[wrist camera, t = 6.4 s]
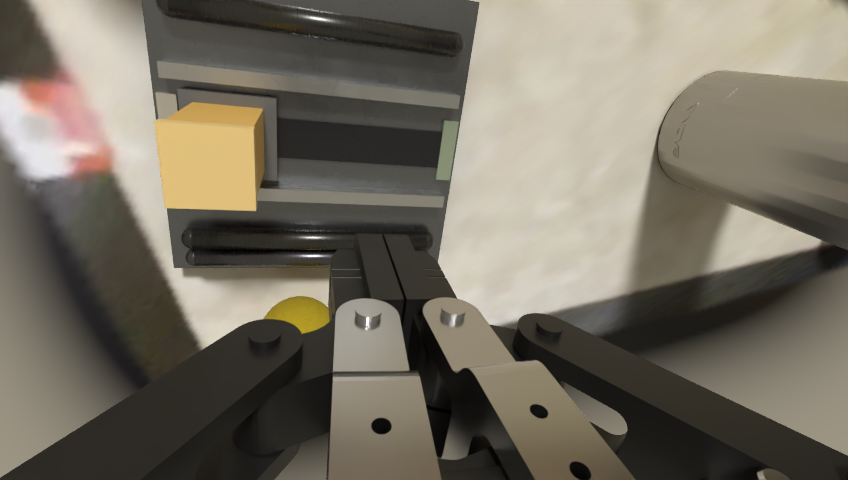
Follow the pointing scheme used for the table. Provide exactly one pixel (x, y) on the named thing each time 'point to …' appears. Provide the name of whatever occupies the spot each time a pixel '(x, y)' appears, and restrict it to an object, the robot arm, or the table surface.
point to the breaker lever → (217, 149)
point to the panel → (322, 118)
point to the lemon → (301, 313)
